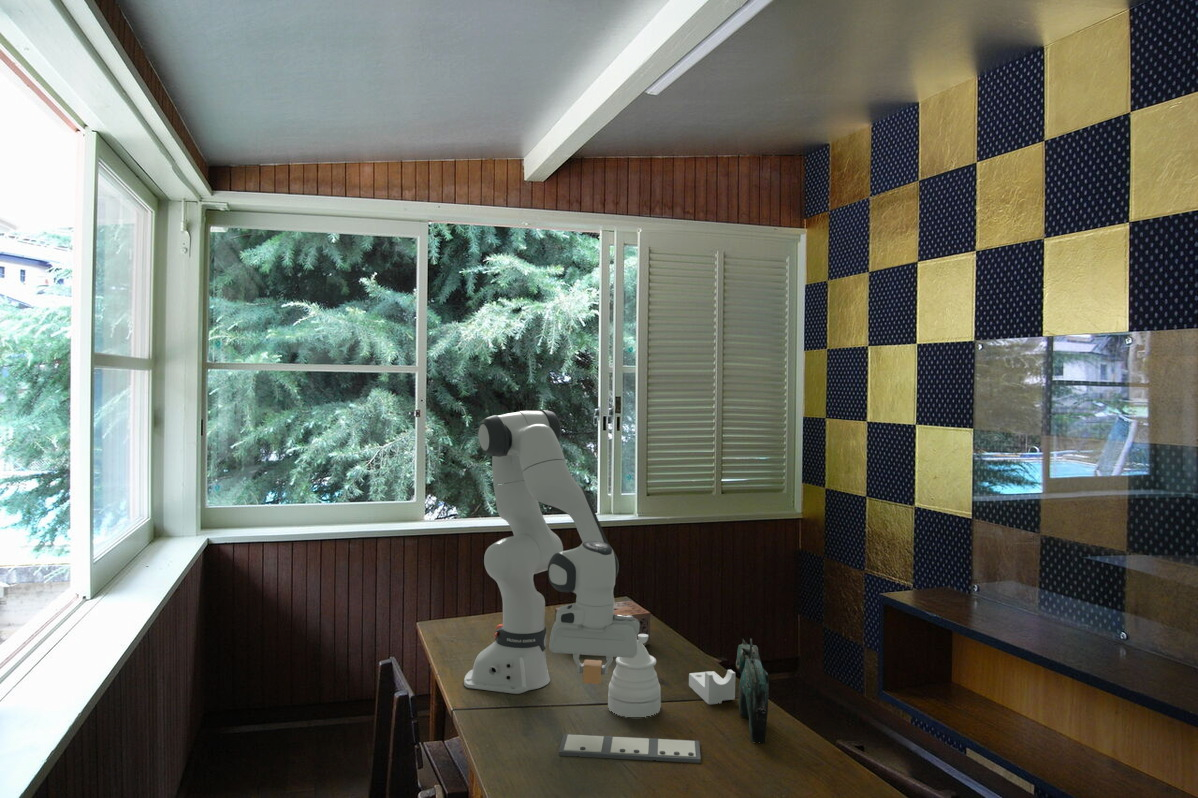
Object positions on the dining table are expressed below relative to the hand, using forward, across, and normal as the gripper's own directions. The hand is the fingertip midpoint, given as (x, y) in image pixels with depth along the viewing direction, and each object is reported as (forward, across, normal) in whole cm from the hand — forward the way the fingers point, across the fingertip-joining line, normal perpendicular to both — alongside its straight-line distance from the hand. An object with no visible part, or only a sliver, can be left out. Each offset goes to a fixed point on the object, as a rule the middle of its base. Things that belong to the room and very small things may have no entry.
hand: (592, 673), depth 189 cm
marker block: (+2, 0, 0) cm, 2 cm away
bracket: (+13, -29, -24) cm, 40 cm away
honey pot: (+13, -10, -13) cm, 21 cm away
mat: (+12, -10, +11) cm, 19 cm away
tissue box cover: (+14, +2, -63) cm, 64 cm away
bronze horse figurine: (+12, -38, -5) cm, 40 cm away
